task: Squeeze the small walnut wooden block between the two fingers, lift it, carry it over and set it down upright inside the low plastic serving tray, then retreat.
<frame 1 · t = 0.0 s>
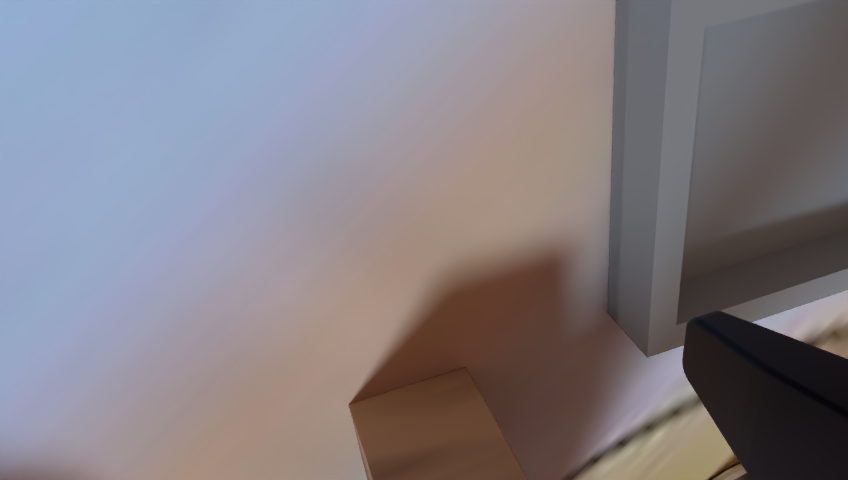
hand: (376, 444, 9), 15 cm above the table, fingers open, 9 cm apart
serving tray: (771, 123, 28), on the table
walnut block: (415, 427, 31), on the table
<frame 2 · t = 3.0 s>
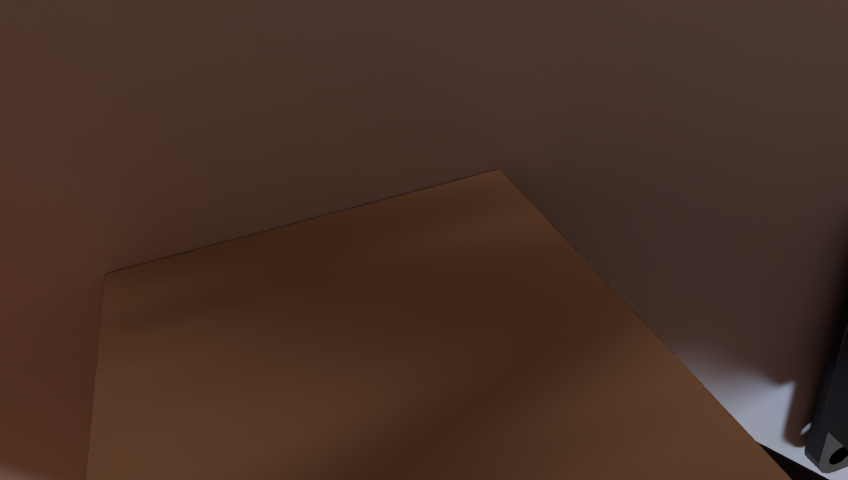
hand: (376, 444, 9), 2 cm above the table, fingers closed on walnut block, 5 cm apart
walnut block: (348, 365, 10), on the table, touching gripper
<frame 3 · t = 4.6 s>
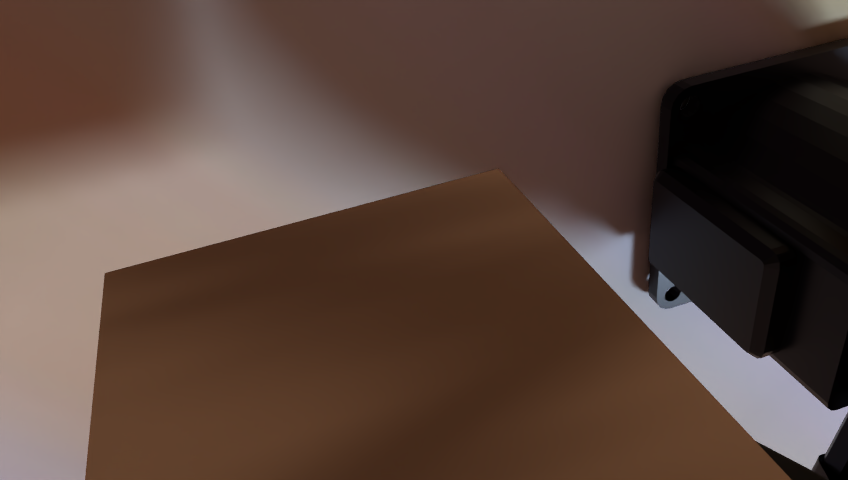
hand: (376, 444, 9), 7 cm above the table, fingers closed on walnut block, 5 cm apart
walnut block: (348, 365, 10), point 6 cm above the table, touching gripper
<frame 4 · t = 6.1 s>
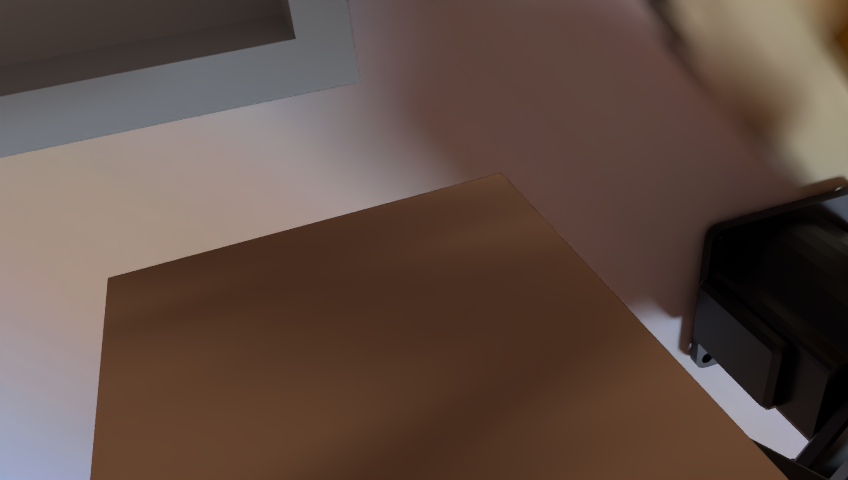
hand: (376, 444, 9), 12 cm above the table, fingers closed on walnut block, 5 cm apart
walnut block: (350, 368, 10), point 10 cm above the table, touching gripper
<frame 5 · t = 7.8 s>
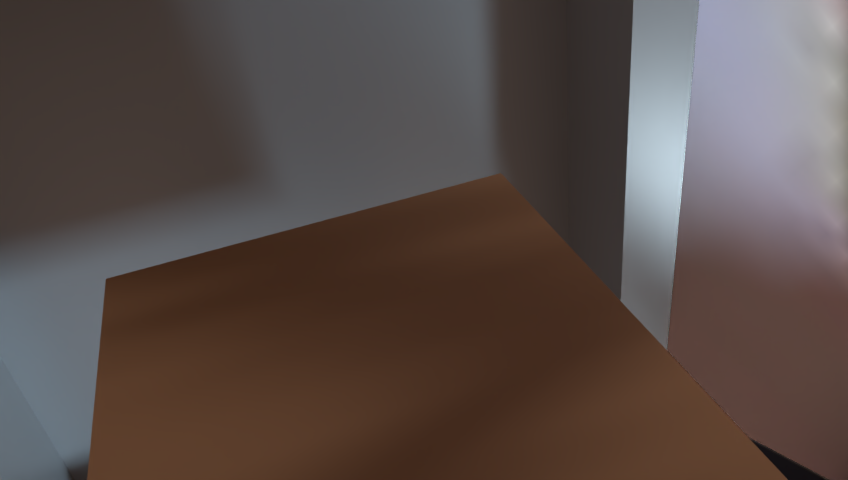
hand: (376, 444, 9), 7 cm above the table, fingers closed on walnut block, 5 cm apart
serving tray: (287, 200, 14), on the table
walnut block: (349, 369, 10), point 5 cm above the table, touching gripper
when the fingers open (4 cm above the table, at t = 9.1 s): walnut block drops 1 cm, resting on serving tray.
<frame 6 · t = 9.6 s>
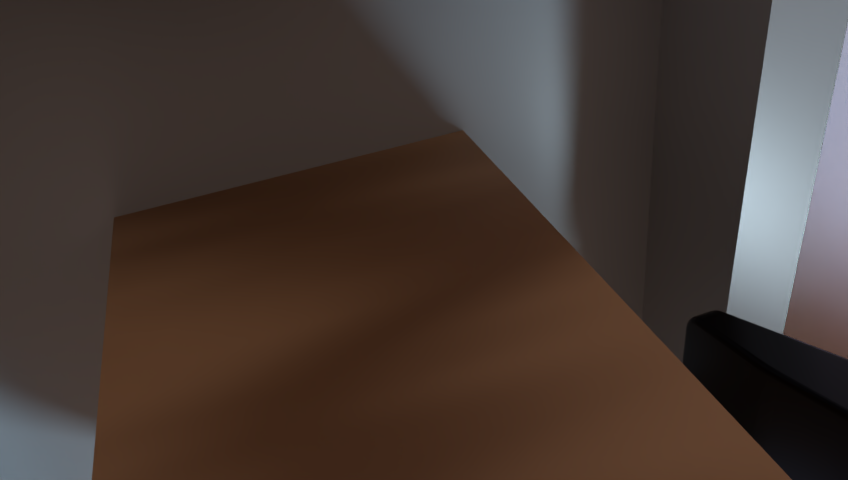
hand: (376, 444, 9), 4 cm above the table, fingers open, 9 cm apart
serving tray: (317, 279, 12), on the table
walnut block: (330, 309, 12), point 1 cm above the table, touching serving tray
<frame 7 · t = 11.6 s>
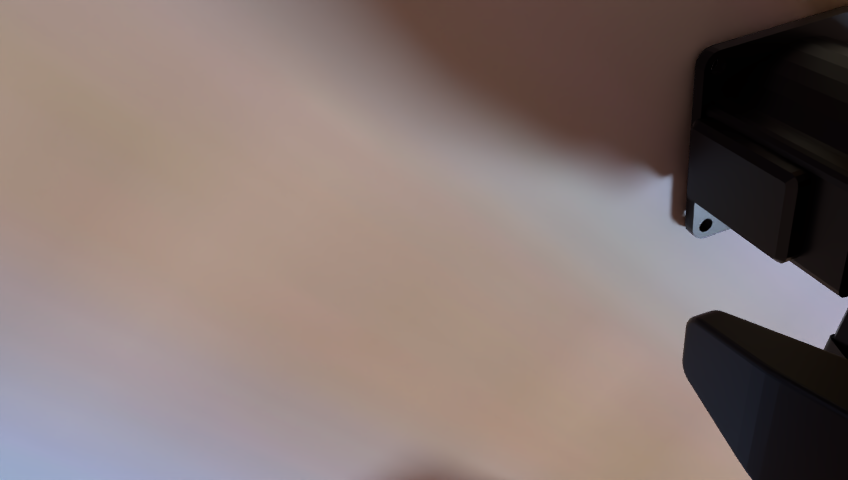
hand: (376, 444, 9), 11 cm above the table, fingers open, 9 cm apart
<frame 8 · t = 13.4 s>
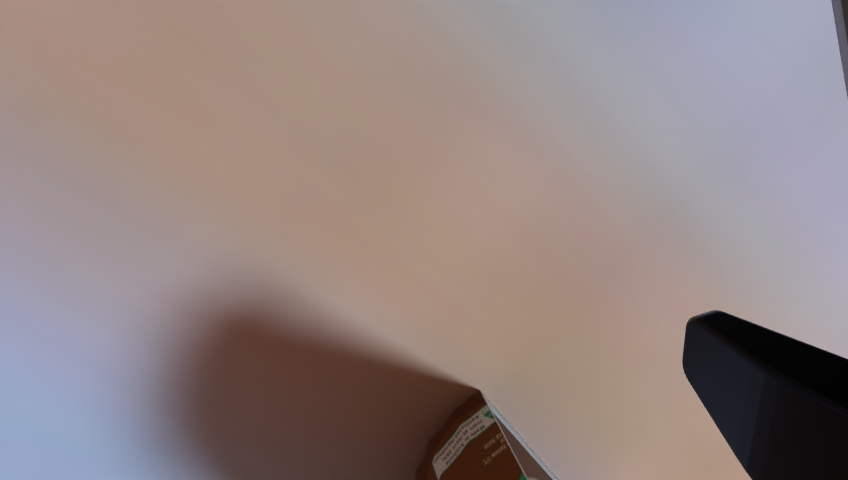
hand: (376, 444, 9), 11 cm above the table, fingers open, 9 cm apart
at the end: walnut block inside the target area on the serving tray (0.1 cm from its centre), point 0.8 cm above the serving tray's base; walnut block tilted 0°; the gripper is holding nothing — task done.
